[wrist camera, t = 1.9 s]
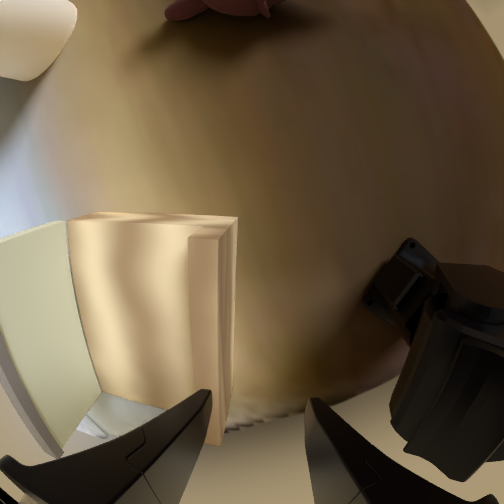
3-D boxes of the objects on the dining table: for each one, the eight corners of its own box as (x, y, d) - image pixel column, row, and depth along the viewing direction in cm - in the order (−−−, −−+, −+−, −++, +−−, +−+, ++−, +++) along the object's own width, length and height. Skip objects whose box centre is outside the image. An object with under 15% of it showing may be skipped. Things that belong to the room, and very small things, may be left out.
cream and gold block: (238, 217, 20) (218, 239, 13) (232, 389, 24) (221, 446, 17) (96, 212, 20) (38, 229, 14) (119, 368, 25) (88, 411, 18)
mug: (-3, 107, 18) (-67, 105, 8) (8, 42, 15) (-47, 29, 5) (71, 56, 17) (-6, 26, 6) (83, -12, 14) (28, -48, 4)
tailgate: (67, 218, 16) (-34, 253, 8) (104, 393, 21) (58, 460, 12) (53, 218, 17) (-44, 251, 8) (91, 389, 21) (44, 452, 12)
